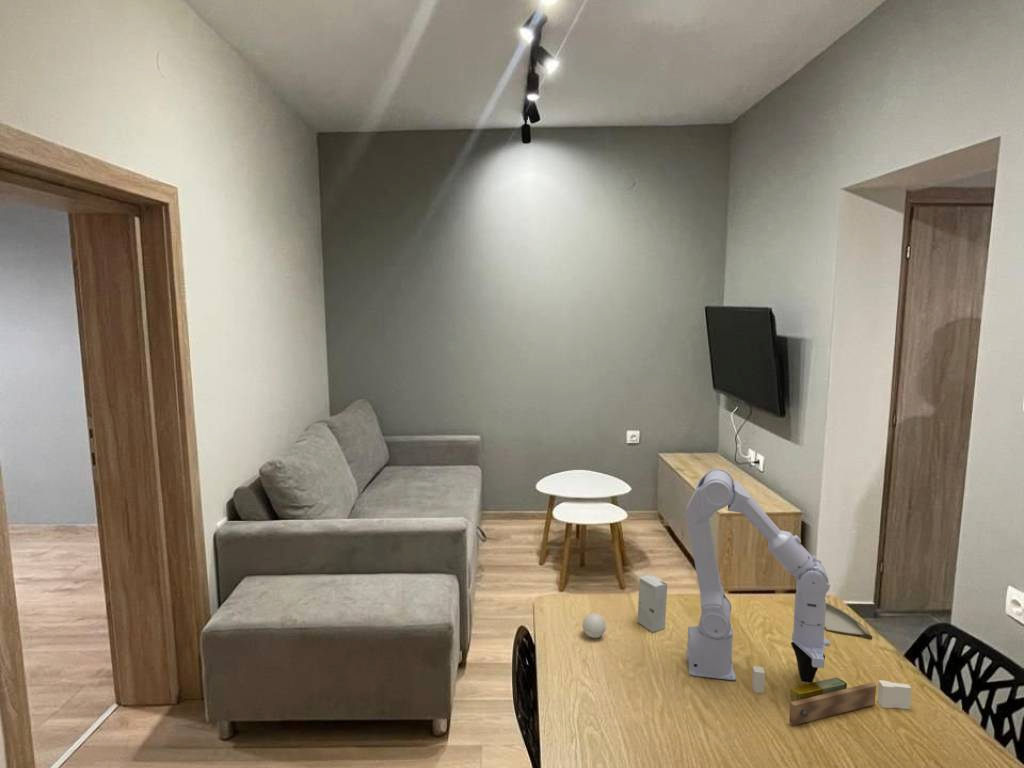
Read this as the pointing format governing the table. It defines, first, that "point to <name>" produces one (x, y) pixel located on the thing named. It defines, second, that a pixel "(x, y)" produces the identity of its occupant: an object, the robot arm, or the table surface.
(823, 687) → the medication box
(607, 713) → the table surface
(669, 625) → the table surface
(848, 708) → the brown wooden plank
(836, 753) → the table surface
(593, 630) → the white ball
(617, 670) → the table surface
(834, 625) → the ceramic fragment
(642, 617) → the skincare box
